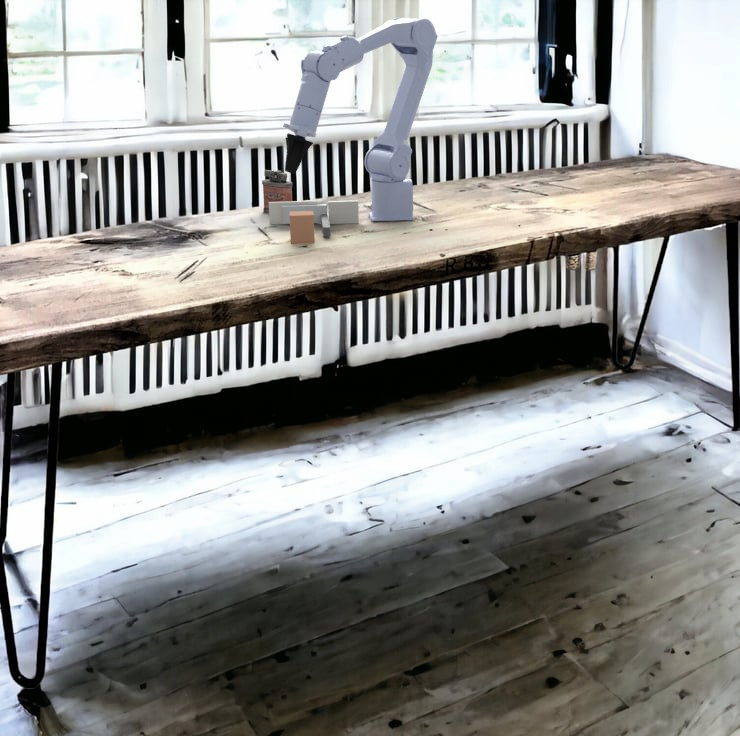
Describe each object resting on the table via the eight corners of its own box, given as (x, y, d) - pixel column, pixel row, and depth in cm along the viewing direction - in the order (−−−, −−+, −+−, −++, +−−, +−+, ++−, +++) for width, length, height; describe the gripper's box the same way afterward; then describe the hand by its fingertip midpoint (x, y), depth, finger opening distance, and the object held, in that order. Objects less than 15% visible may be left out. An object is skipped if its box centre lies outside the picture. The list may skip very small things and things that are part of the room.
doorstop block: (314, 238, 221) (313, 210, 218) (314, 243, 217) (313, 215, 215) (290, 239, 220) (289, 211, 218) (290, 244, 216) (289, 215, 214)
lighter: (296, 213, 242) (294, 171, 239) (287, 216, 240) (286, 173, 236) (269, 209, 247) (267, 168, 243) (260, 212, 244) (258, 170, 240)
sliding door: (327, 221, 233) (326, 204, 232) (330, 236, 221) (329, 217, 219) (282, 223, 232) (282, 205, 231) (283, 237, 220) (282, 219, 218)
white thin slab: (358, 221, 235) (357, 199, 233) (358, 223, 233) (358, 201, 231) (269, 224, 233) (268, 202, 231) (269, 225, 231) (268, 203, 230)
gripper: (288, 106, 222) (271, 167, 224) (291, 99, 208) (272, 164, 210) (320, 116, 224) (302, 177, 225) (324, 110, 209) (305, 175, 211)
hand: (290, 172), depth 218 cm, fingers open, 7 cm apart
